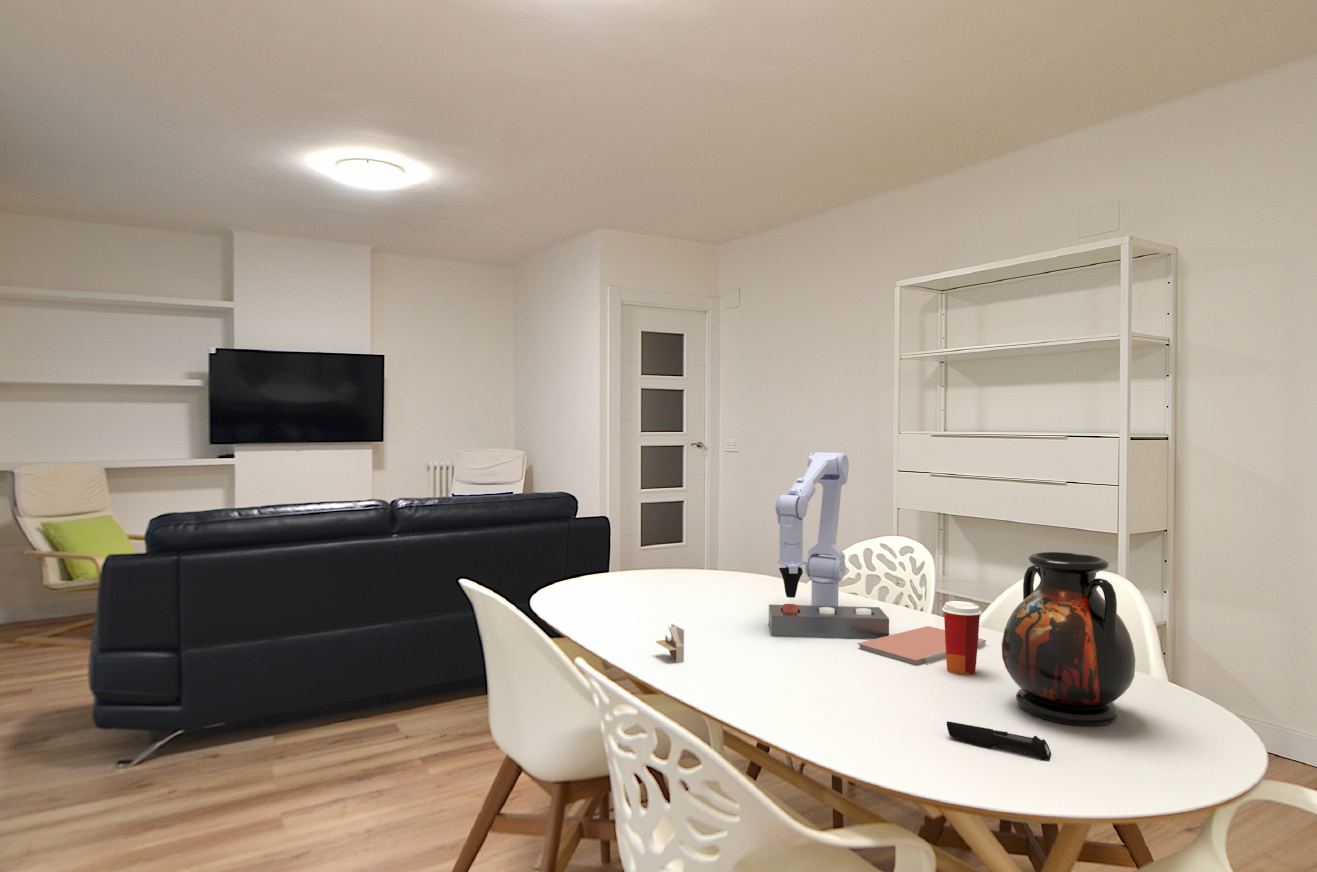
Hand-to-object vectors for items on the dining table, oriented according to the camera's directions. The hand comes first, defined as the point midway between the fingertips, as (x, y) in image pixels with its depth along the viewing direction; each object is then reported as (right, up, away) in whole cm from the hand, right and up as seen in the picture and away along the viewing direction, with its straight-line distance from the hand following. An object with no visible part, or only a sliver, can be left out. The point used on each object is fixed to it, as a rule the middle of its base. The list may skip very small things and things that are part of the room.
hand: (790, 596), depth 197 cm
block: (+9, -9, -1) cm, 12 cm away
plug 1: (+9, -8, -1) cm, 12 cm away
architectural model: (-30, -9, -24) cm, 39 cm away
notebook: (+29, -10, -14) cm, 33 cm away
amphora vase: (+41, -10, -54) cm, 69 cm away
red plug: (0, -7, 0) cm, 7 cm away
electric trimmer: (+22, -10, -71) cm, 74 cm away
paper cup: (+31, -9, -31) cm, 45 cm away
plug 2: (+18, -8, -1) cm, 20 cm away
